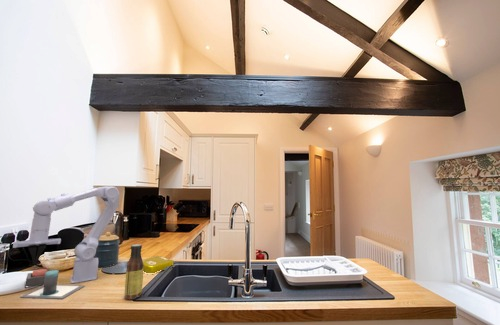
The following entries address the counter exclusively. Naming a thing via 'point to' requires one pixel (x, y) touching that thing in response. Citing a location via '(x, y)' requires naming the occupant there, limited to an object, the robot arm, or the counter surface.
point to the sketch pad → (61, 293)
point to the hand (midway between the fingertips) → (34, 263)
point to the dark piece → (50, 282)
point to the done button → (39, 272)
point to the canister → (107, 250)
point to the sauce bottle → (134, 273)
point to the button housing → (34, 280)
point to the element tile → (156, 264)
